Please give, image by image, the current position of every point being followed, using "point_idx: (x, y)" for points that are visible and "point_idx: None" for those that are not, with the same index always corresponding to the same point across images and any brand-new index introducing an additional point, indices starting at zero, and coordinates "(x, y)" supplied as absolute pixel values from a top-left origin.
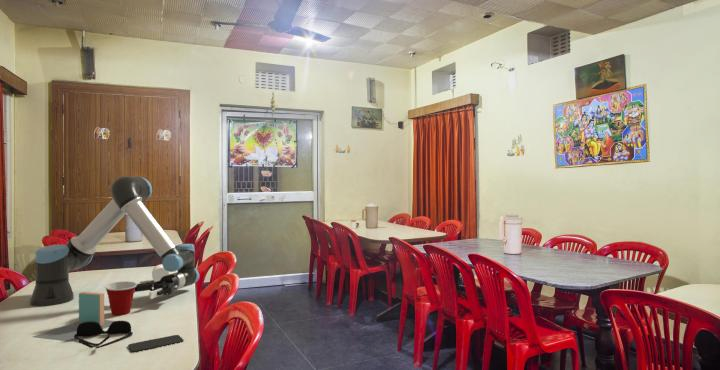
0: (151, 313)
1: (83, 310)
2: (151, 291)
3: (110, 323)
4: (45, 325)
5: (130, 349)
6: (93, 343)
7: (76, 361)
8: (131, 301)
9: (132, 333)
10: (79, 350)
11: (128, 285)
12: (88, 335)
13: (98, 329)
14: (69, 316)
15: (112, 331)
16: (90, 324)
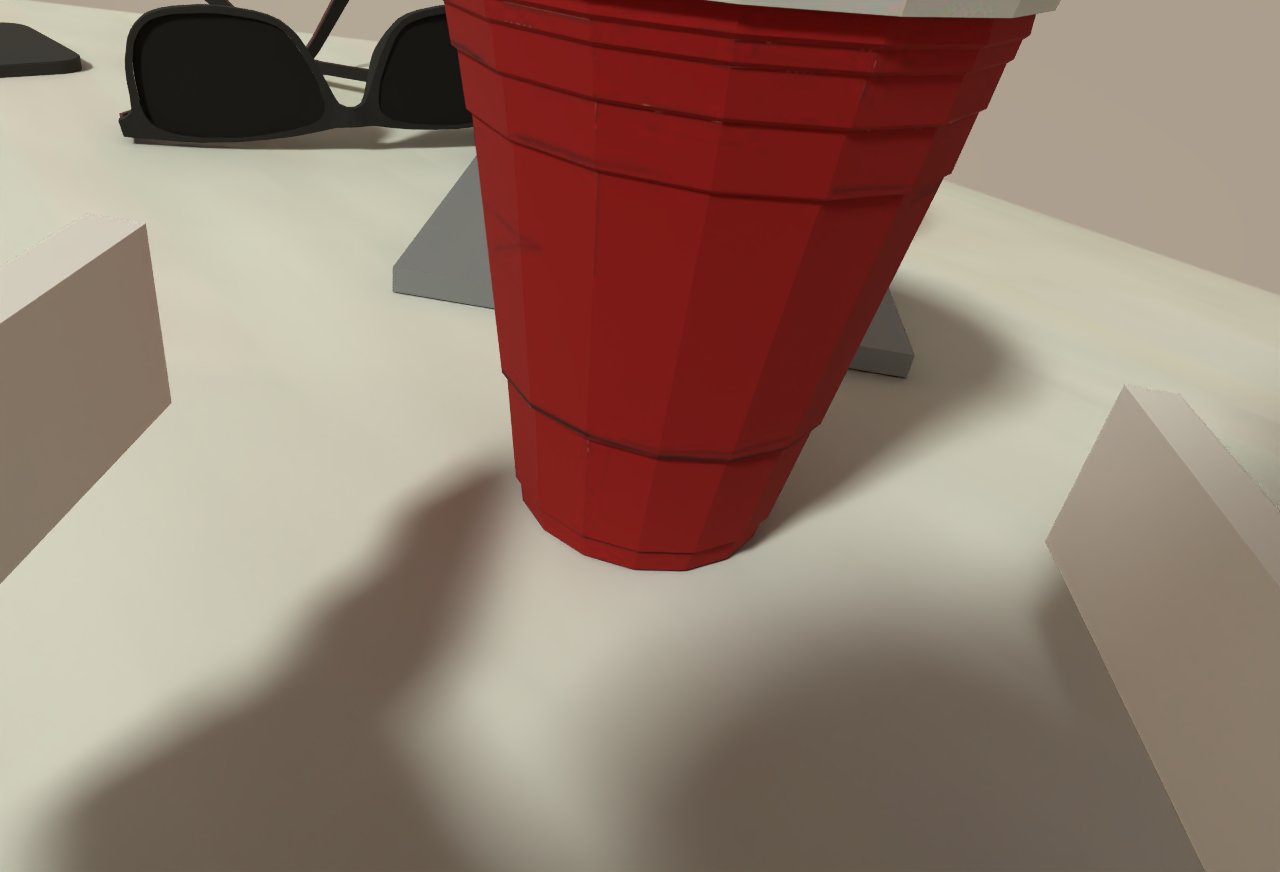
0: (121, 571)
1: None
2: (92, 252)
3: (484, 245)
4: (1101, 314)
5: (42, 35)
6: (323, 62)
7: (308, 38)
8: (493, 286)
9: (120, 125)
10: None
11: (785, 75)
12: (456, 118)
13: (393, 79)
14: (1265, 472)
15: (291, 104)
16: (442, 27)
